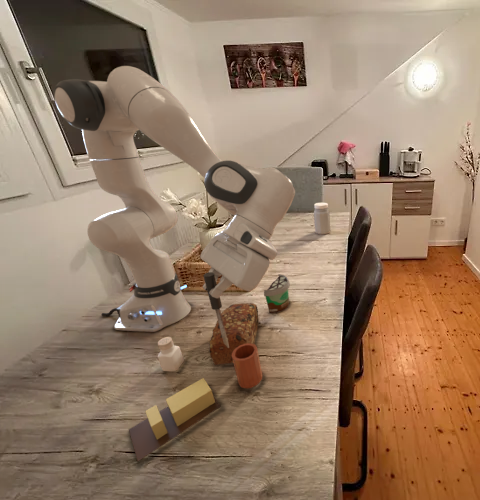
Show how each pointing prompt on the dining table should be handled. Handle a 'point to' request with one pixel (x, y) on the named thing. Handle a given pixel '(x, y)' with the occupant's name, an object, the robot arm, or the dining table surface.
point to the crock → (247, 365)
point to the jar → (321, 218)
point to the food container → (278, 294)
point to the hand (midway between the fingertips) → (210, 293)
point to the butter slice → (156, 422)
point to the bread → (234, 331)
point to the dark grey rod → (215, 303)
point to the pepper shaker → (169, 355)
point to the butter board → (146, 438)
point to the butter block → (190, 401)
